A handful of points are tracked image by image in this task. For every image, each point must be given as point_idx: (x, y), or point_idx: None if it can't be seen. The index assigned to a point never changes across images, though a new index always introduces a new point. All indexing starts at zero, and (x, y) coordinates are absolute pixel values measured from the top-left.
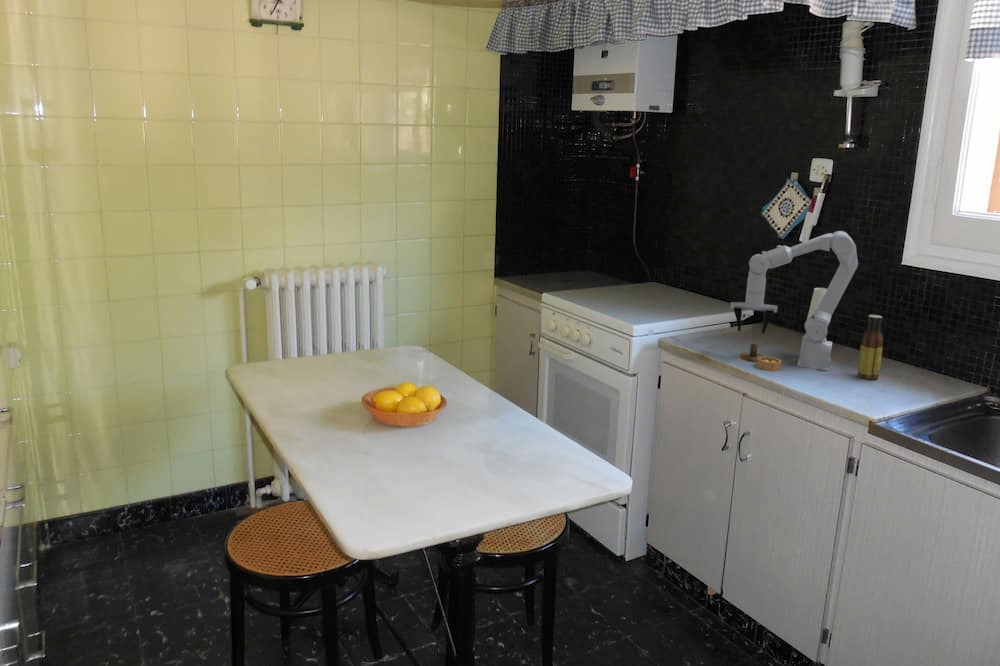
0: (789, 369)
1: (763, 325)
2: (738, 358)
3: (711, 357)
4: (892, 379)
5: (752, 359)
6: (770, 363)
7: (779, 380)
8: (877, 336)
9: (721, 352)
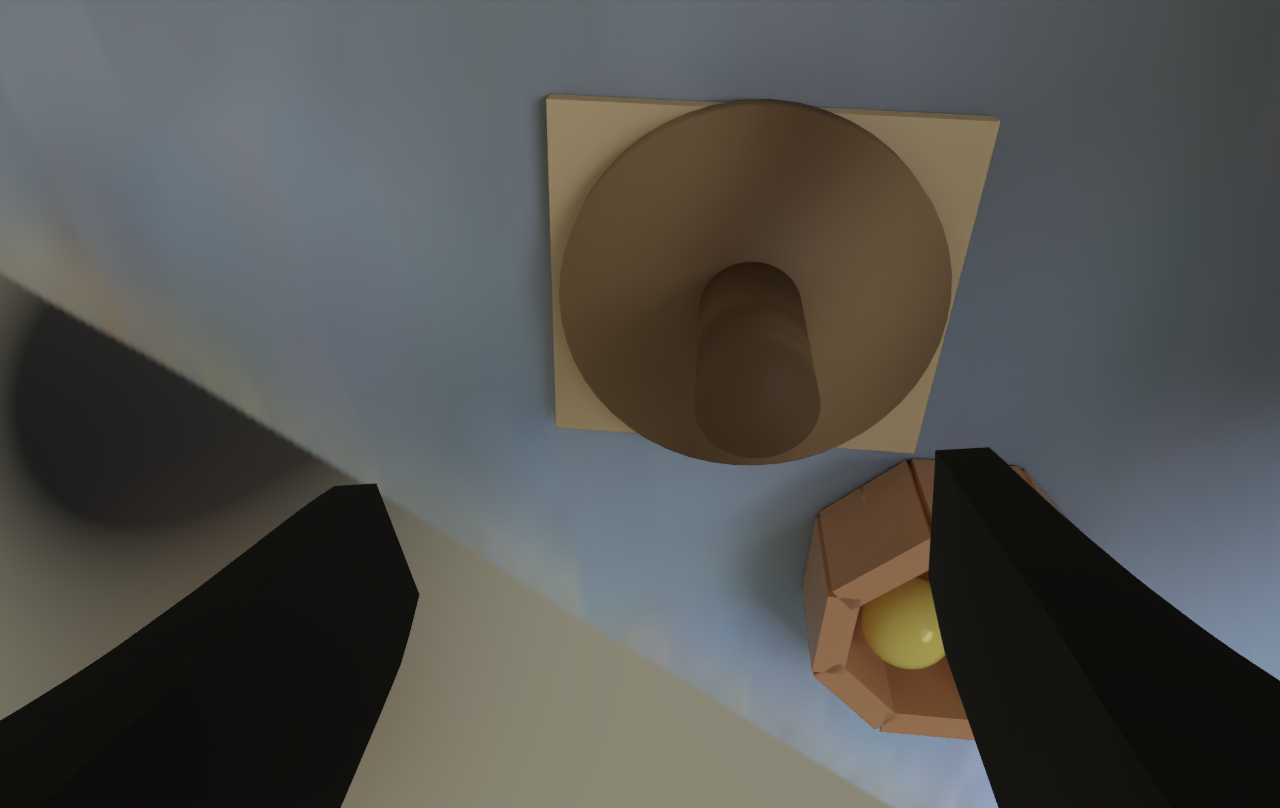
0: (1202, 497)
1: (995, 719)
2: (567, 389)
3: (258, 407)
4: None
5: (747, 463)
6: (950, 732)
7: (989, 803)
8: None
9: (268, 101)
